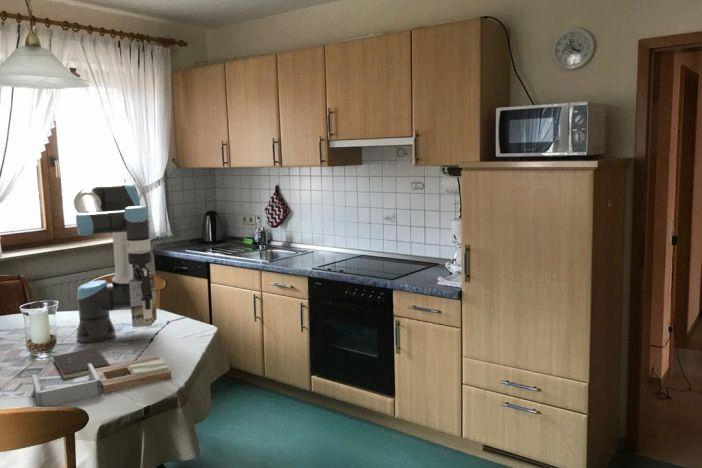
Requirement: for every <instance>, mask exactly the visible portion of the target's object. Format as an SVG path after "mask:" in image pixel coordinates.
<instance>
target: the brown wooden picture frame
mask: <svg viewBox="0 0 702 468" xmlns="http://www.w3.org/2000/svg"><path fill="white" fill-rule="evenodd" d="M95 371H96V373H97V374H98V376H99V378H100V380H101V389H102V393H104V394H106V393H107V394H108V393H110V392H114V391H119V390H124V389H128V388H129V389H130V388H134V387H138V386H142V385H147V384H150V383H151V384H152V383H157V382H161V381H165V380H169V379H172V370H170V368H169V367H168V366H167V364H166V363H165V362H164V361H163V360H162V359H161V358H160V357H159V356H153V357H148V358H144V359H138V360H132V361H128V362H122V363H118V364H113V365H111V366H107V367H102V368H97V369H95Z"/></svg>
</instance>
